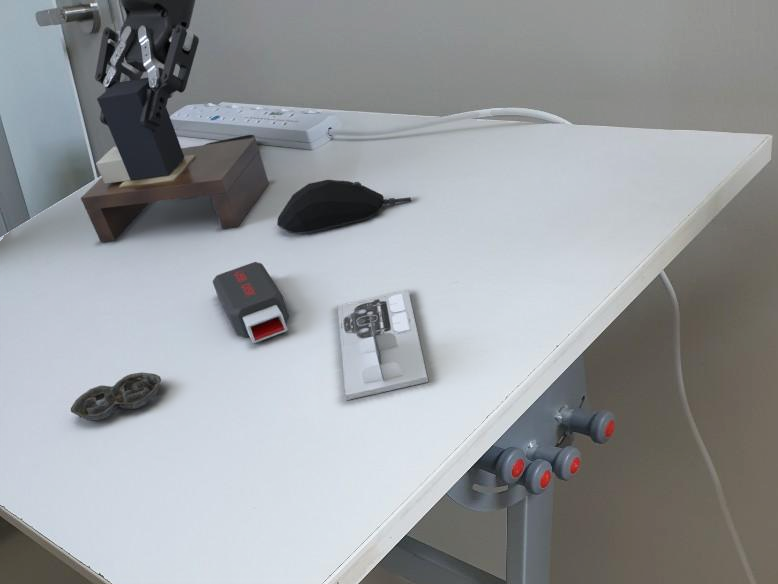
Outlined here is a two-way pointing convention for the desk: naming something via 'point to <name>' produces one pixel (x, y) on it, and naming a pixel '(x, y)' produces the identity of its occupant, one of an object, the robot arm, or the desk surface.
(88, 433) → the desk surface
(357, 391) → the car print tile
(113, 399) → the corroded twin loop
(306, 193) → the gaming mouse
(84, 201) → the brown coffee table
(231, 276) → the usb drive
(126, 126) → the charcoal rectangular prism
